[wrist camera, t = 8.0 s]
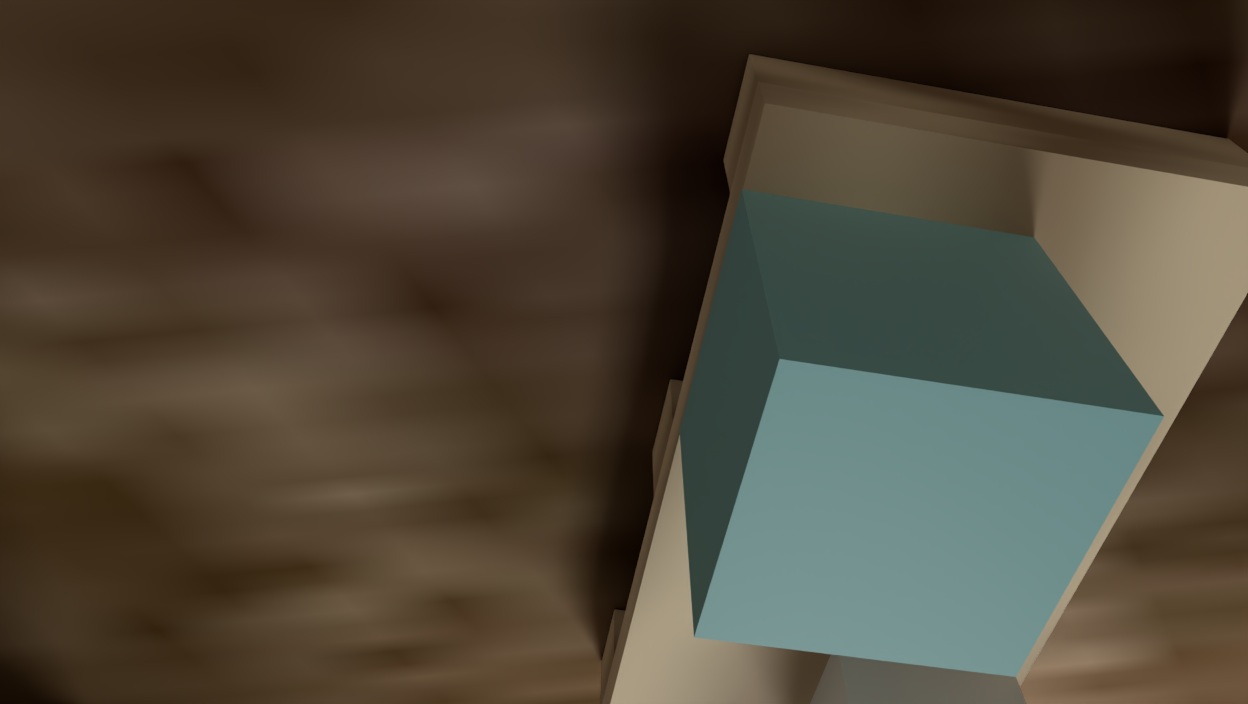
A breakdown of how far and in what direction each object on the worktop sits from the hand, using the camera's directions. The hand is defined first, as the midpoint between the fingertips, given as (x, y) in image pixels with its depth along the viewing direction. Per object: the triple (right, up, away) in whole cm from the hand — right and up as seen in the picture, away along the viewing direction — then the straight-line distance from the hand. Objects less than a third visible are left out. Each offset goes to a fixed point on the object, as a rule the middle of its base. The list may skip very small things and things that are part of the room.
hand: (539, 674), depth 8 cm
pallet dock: (+6, +1, +15) cm, 16 cm away
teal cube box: (+5, +3, +10) cm, 12 cm away
